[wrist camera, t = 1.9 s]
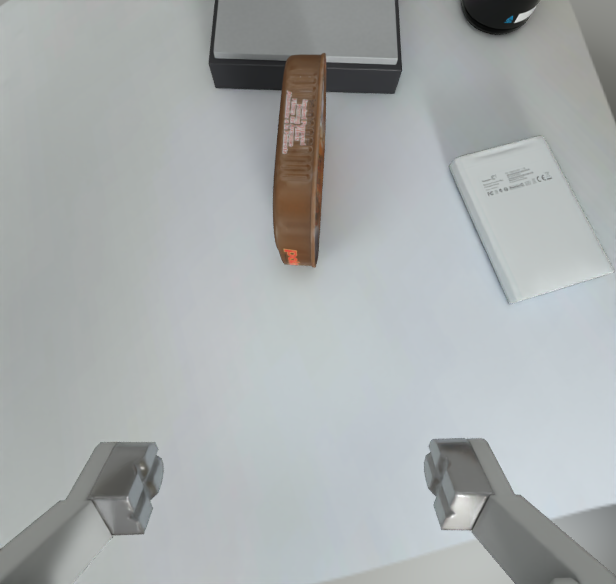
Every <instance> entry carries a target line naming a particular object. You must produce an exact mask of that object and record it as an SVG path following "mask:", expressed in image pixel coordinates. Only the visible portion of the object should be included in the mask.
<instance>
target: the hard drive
mask: <svg viewBox="0 0 616 584" xmlns="http://www.w3.org/2000/svg"><path fill="white" fill-rule="evenodd" d="M449 168H450V171H451V173H452V175H453V177H454V180H455V182H456V185H457V187H458V189H459V192H460V194H461V196H462V198H463V201H464V203H465V205H466V208H467V210H468V212H469V214H470V217H471V219H472V221H473V223H474V226H475V228H476V230H477V232H478V235H479V237H480V239H481V241H482V244H483V246H484V248H485V250H486V253H487V255H488V257H489V259H490V262H491V264H492V266H493V268H494V271H495V273H496V275H497V277H498V280H499V282H500V284H501V287H502V289H503V291H504V294H505V296H506V298H507V300H508V303H509V304H513V303H516V302H519V301H522V300H526V299H529V298H532V297H535V296H539V295H542V294H545V293H548V292H552V291H555V290H558V289H561V288H565V287H568V286H571V285H574V284H578V283H581V282H584V281H588V280H591V279H594V278H598V277H601V276H604V275H607V274H610V273H613V272H615V271H614V269H613V267H612V265H611V263H610V261H609V259H608V257H607V255H606V253H605V252H604V250H603V248H602V246H601V244H600V242H599V240H598V238H597V237H596V235H595V233H594V231H593V229H592V227H591V225H590V223H589V221H588V220H587V218H586V216H585V214H584V212H583V210H582V208H581V206H580V204H579V202H578V201H577V199H576V197H575V195H574V193H573V191H572V189H571V187H570V186H569V184H568V182H567V180H566V178H565V176H564V174H563V172H562V170H561V169H560V167H559V165H558V163H557V161H556V159H555V157H554V155H553V154H552V152H551V150H550V148H549V146H548V144H547V142H546V140H545V138H544V136H543V135H539V136H536V137H532V138H528V139H524V140H521V141H517V142H513V143H509V144H506V145H502V146H498V147H494V148H490V149H486V150H482V151H478V152H475V153H471V154H467V155H463V156H460V157H457V158H455V159H454V160H453V161H452V163H451V164H450V166H449Z"/></svg>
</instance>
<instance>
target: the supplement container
mask: <svg viewBox="0 0 616 584" xmlns="http://www.w3.org/2000/svg"><path fill="white" fill-rule="evenodd" d="M539 2H540V0H462V9H463V12H464V15H465V17H466V19H467V20H468V22H469V23H470V24H471V25H472V26H474V27H475V28H477V29H478V30H480V31H482V32H485V33H489V34H495V35H501V34H507V33H510V32H513V31H515V30H517V29H518V28H520V27H521V26H522V25H523V24H525V23H526V21H527V20H528V19H529V17H530V16H531V14H532V12H533V11H534V9H535V8H536V6H537V5H538V3H539Z"/></svg>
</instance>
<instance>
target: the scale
mask: <svg viewBox="0 0 616 584" xmlns="http://www.w3.org/2000/svg"><path fill="white" fill-rule="evenodd" d="M322 53H326V91H331V92H361V93H390V94H394V93H395V90H396V87H397V84H398V81H399V78H400V75H401V72H402V61H401V43H400V25H399V7H398V0H215V6H214V16H213V26H212V36H211V46H210V55H209V67H210V70H211V73H212V77H213V80H214V84H215V87H216V88H242V89H272V90H282V84H283V75H284V69H285V64H286V61H287V59H288V57H290V56H291V55H301V54H307V55H314V54H315V55H321V54H322Z"/></svg>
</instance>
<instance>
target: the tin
mask: <svg viewBox="0 0 616 584" xmlns="http://www.w3.org/2000/svg"><path fill="white" fill-rule="evenodd" d="M325 122H326V53H322V54H321V55H315V54H314V55H307V54H301V55H291V56H290V57H288V59H287V61H286V64H285V69H284V75H283V84H282V94H281V103H280V113H279V124H278V135H277V147H276V158H275V171H274V186H273V225H274V235H275V242H276V246H277V248H278V250H279V252H280V256H281V259H282V261H283V263H284V264H288V265H305V266H312V267H314V268H315V267H316V264H317V260H318V251H319V235H320V220H321V202H322V186H323V169H324V151H325Z"/></svg>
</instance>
